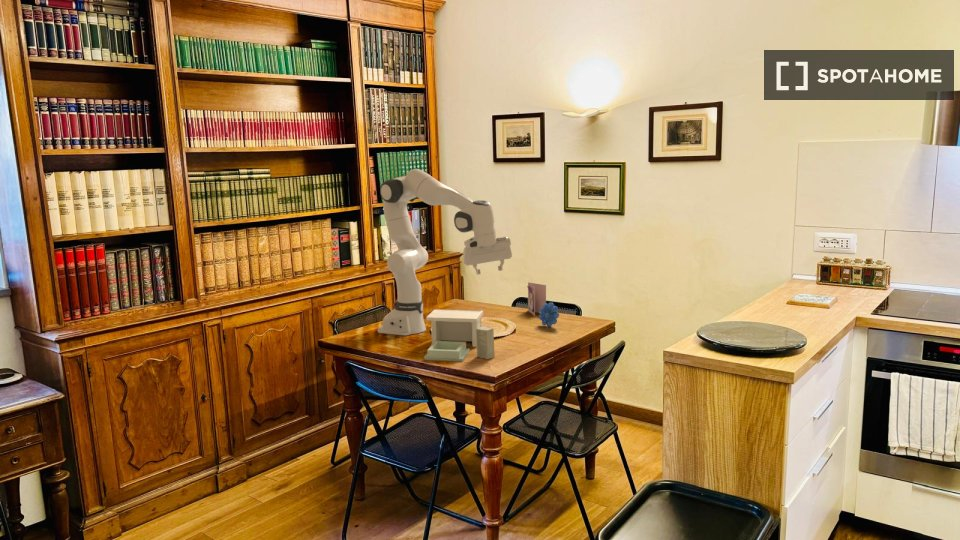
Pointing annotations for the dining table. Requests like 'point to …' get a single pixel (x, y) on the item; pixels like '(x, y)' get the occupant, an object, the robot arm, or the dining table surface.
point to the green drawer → (447, 351)
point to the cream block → (454, 325)
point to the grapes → (548, 314)
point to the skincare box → (485, 342)
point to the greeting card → (536, 297)
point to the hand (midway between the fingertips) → (489, 272)
